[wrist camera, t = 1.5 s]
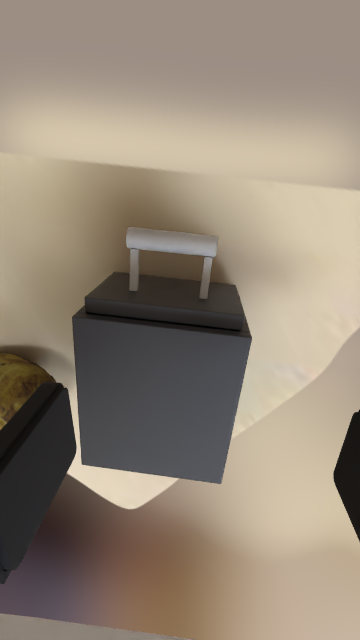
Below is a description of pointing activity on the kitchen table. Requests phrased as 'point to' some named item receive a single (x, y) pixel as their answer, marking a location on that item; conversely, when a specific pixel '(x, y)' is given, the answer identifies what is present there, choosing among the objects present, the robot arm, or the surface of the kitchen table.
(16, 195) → the kitchen table surface
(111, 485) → the kitchen table surface
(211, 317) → the handled dark box
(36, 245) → the kitchen table surface
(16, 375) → the potato
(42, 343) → the kitchen table surface
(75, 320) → the dark gray cabinet
